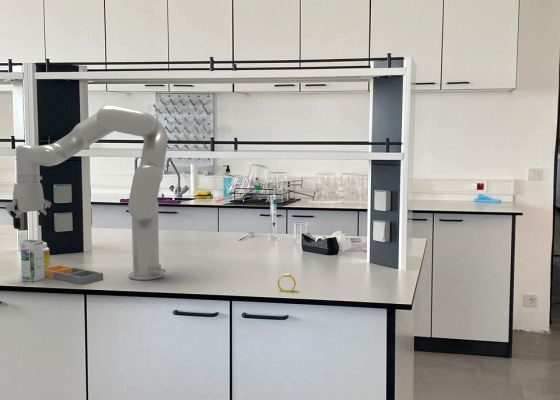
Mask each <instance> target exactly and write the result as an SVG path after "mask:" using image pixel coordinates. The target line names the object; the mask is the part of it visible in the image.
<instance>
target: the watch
mask: <svg viewBox="0 0 560 400" xmlns="http://www.w3.org/2000/svg"><path fill="white" fill-rule="evenodd" d="M283 278H291V279H292V281H293V288H291V289H283V288H282V287H281V285H280V282H281V281H280V280H281V279H283ZM296 285H297V282H296V279H295V278H294V276H293V275H291V273H288V272H287V273H286V272H285V273H282V275H281V276H280V277H279V278H278V280H277V287H278V290H280V291H281V292H284V293H286V292H287V293H288V292H290V293H291V292H292V291H294V290H295V288H296Z"/></svg>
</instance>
